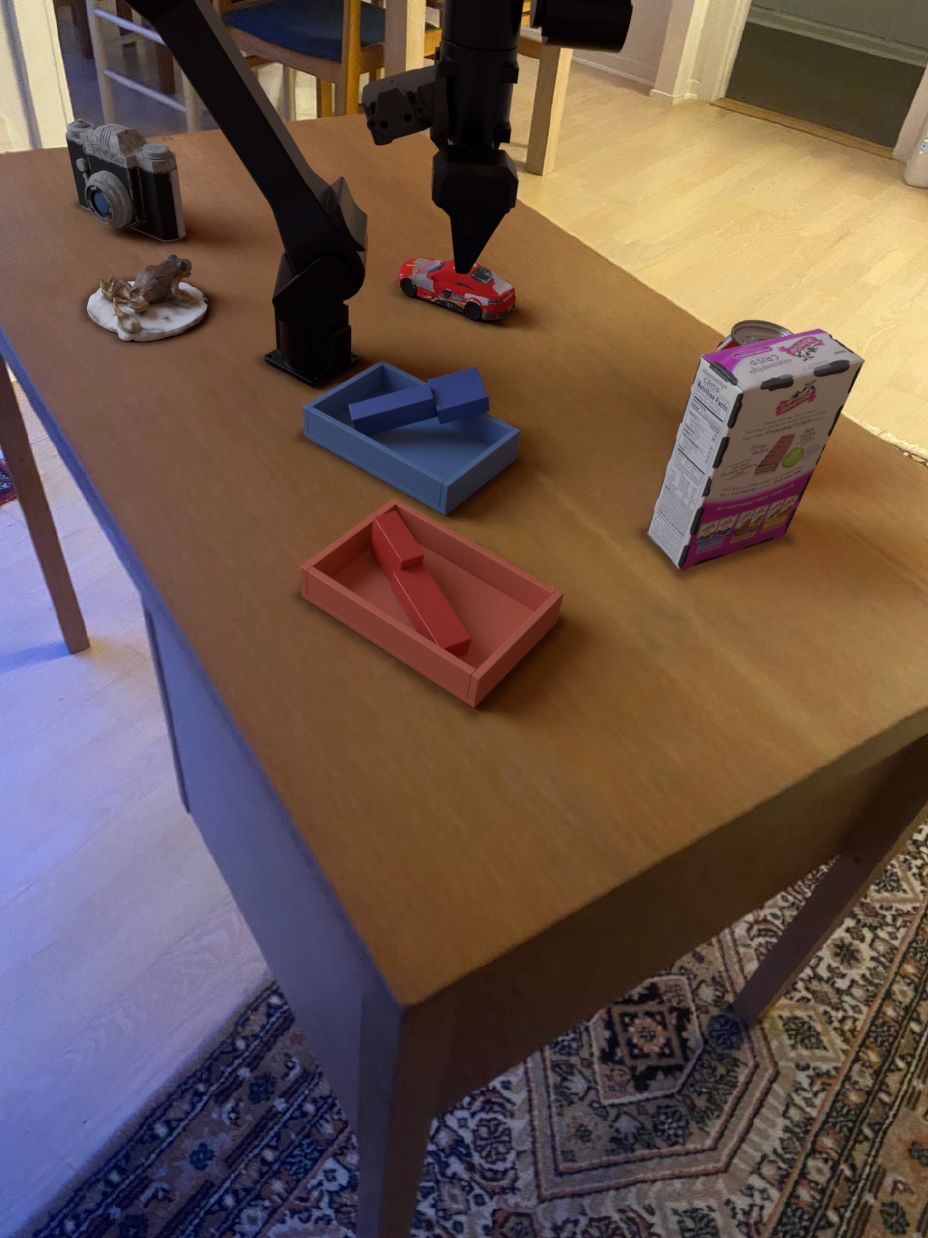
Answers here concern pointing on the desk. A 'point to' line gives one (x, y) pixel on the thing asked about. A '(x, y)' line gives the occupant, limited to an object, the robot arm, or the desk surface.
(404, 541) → the stepped red stick
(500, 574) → the terracotta bin
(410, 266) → the race car
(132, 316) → the frog figurine
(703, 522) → the candy bar box
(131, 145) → the camera
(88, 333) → the desk surface
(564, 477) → the desk surface
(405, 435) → the blue bin
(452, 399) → the blue stepped bar
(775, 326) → the soda can
